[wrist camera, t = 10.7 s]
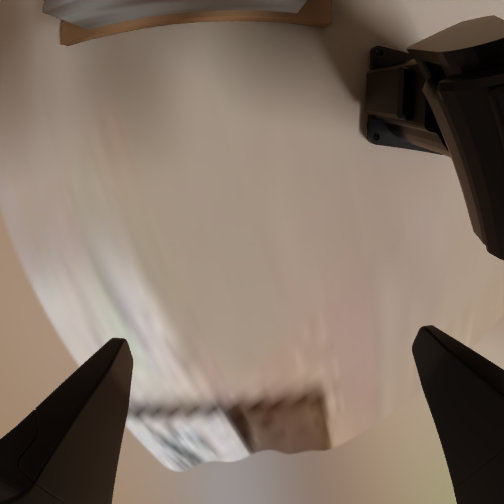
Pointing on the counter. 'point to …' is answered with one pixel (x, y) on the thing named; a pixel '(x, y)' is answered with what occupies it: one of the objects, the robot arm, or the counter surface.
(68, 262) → the counter surface
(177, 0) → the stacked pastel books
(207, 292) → the counter surface
